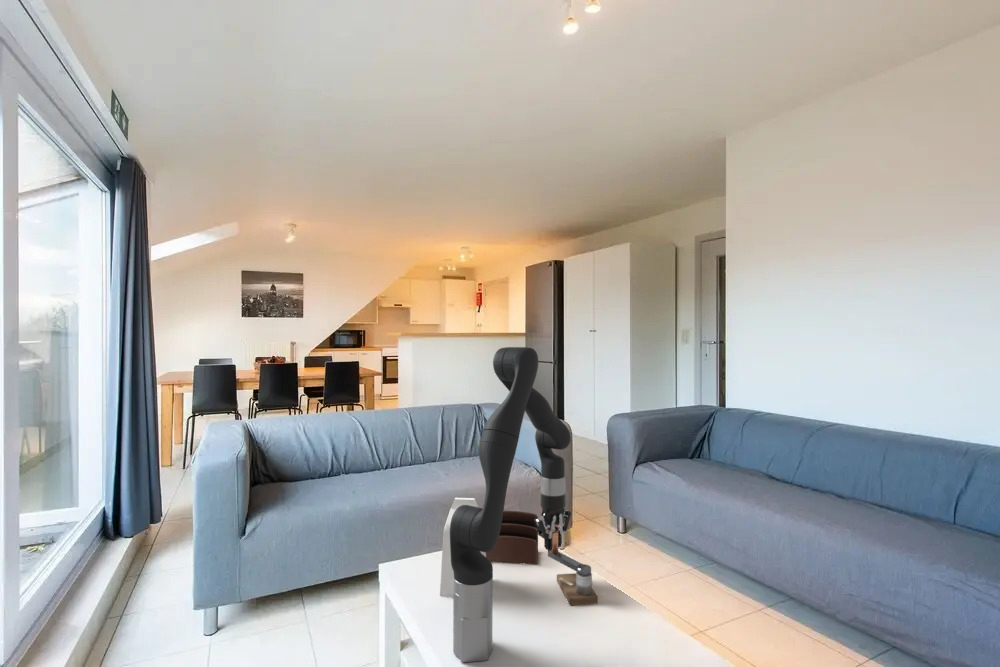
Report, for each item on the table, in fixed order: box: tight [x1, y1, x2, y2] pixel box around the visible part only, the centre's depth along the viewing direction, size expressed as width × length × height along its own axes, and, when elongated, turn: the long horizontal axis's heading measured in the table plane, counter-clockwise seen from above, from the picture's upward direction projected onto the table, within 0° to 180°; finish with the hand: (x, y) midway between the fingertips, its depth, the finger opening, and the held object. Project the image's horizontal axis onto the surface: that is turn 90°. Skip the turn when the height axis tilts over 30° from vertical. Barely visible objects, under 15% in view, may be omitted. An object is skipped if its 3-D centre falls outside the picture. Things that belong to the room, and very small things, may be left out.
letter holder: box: [486, 510, 539, 565], centre depth 169 cm, size 10×20×14 cm, turn 84°
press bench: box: [556, 571, 599, 606], centre depth 146 cm, size 14×8×7 cm, turn 8°
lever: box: [547, 530, 592, 576], centre depth 147 cm, size 17×4×8 cm, turn 36°
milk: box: [439, 497, 486, 598], centre depth 148 cm, size 12×12×26 cm
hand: (553, 547), depth 153 cm, fingers closed on lever, 3 cm apart
